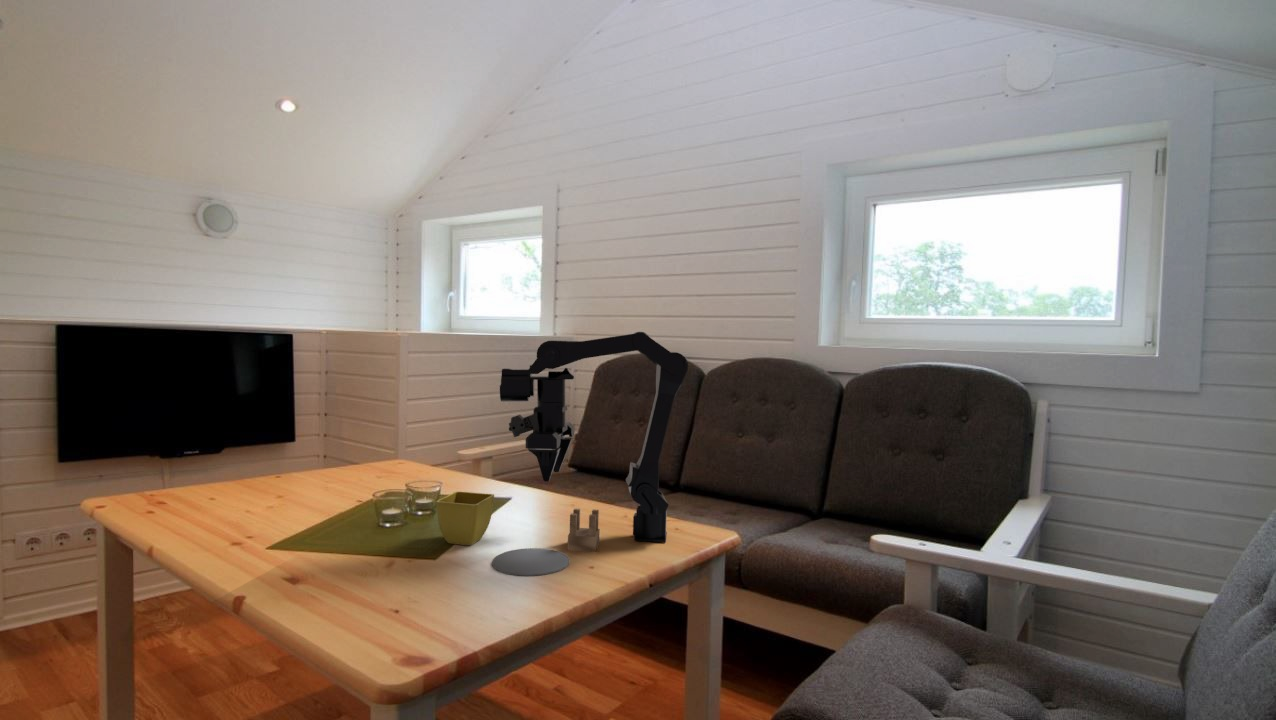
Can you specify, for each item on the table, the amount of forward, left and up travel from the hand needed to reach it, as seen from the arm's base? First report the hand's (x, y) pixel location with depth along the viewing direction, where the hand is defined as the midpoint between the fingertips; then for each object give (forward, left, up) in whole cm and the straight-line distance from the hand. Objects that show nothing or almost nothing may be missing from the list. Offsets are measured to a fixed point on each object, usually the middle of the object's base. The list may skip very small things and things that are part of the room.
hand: (551, 476), depth 138 cm
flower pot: (+16, +5, -13) cm, 22 cm away
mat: (0, +15, -13) cm, 20 cm away
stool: (-8, +4, -13) cm, 16 cm away
